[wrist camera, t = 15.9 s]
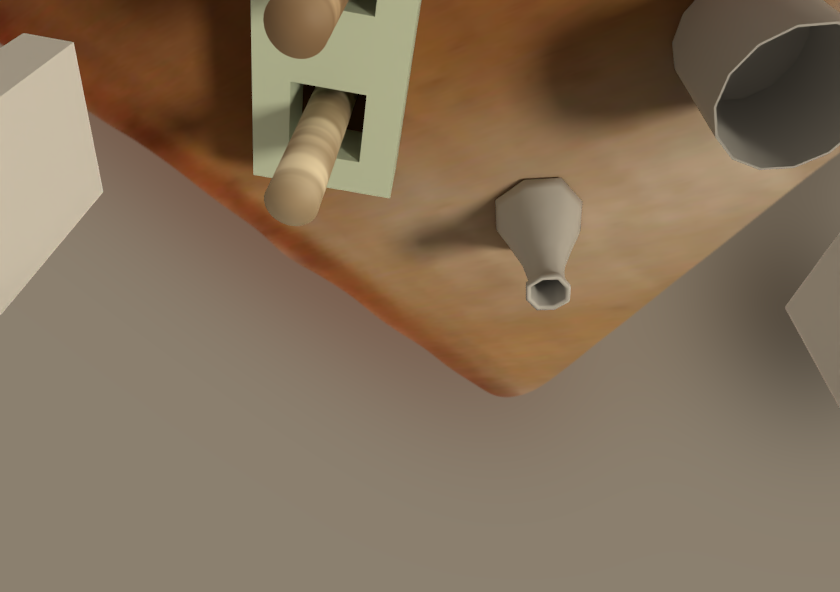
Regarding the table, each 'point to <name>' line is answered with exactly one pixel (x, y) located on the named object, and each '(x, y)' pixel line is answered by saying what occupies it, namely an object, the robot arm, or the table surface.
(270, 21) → the oak peg
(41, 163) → the robot arm
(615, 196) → the table surface
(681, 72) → the cup
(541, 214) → the flask
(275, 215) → the beech peg
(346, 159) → the socket board
